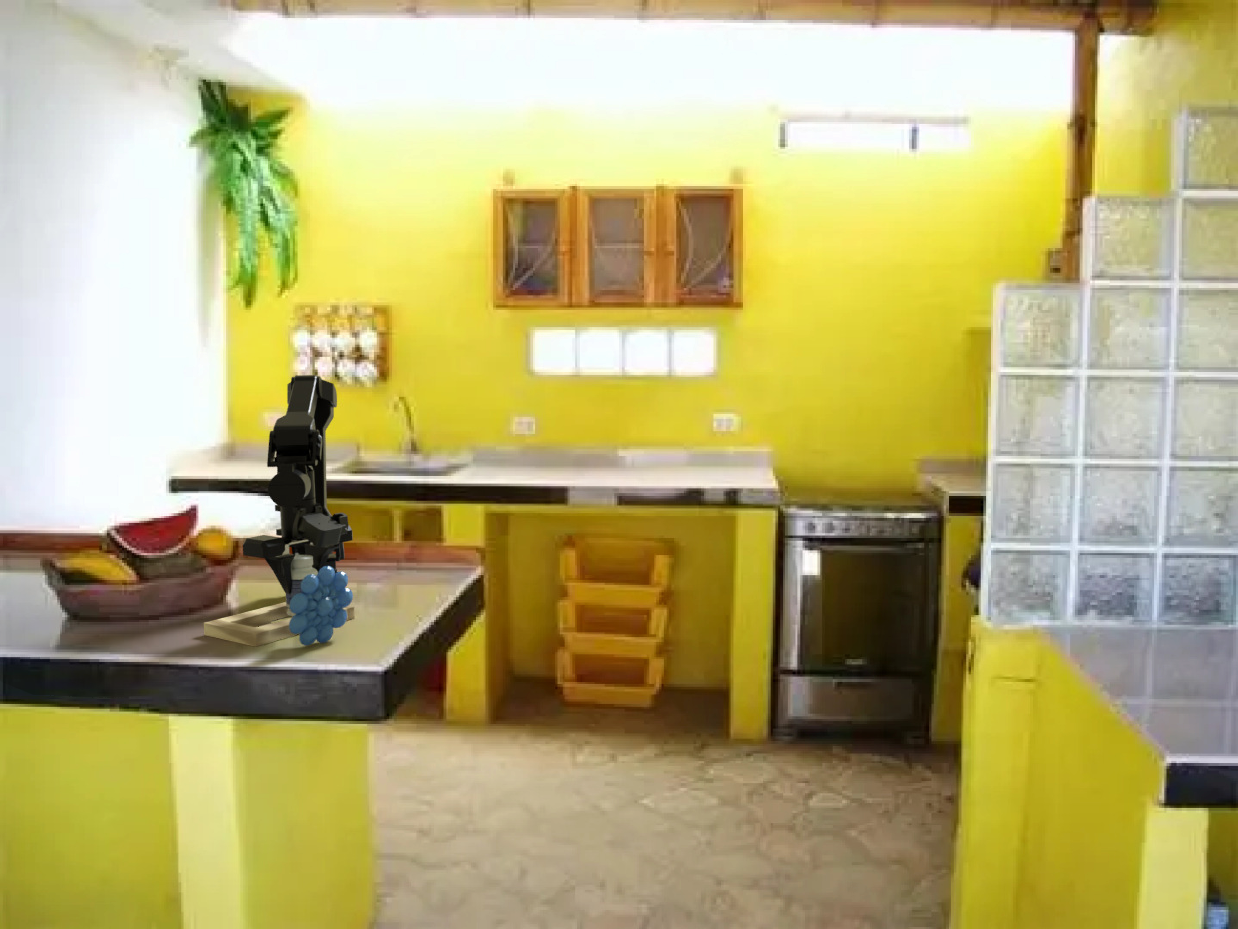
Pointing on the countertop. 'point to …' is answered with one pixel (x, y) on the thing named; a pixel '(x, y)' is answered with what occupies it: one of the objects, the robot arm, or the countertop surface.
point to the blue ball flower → (320, 606)
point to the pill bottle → (299, 576)
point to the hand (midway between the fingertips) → (301, 590)
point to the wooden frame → (256, 625)
